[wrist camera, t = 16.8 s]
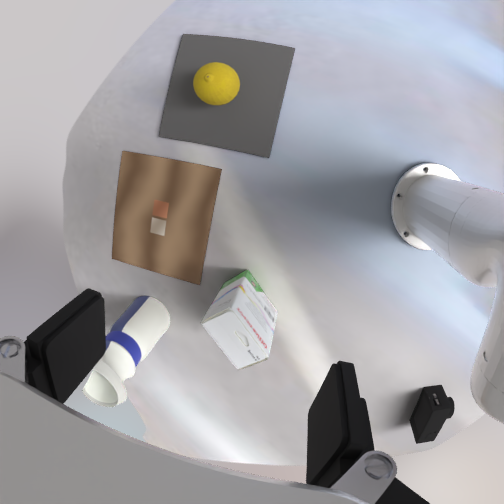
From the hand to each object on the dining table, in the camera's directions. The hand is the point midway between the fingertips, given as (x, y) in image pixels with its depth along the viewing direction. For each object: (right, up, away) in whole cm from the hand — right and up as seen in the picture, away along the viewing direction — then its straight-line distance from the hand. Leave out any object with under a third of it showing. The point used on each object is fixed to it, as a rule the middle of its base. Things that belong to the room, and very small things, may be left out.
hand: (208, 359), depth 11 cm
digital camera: (+38, -27, +40) cm, 61 cm away
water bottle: (-16, -7, +41) cm, 44 cm away
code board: (-12, +9, +34) cm, 37 cm away
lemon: (-2, +26, +27) cm, 37 cm away
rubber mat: (-2, +26, +27) cm, 37 cm away
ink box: (+1, -3, +37) cm, 37 cm away
